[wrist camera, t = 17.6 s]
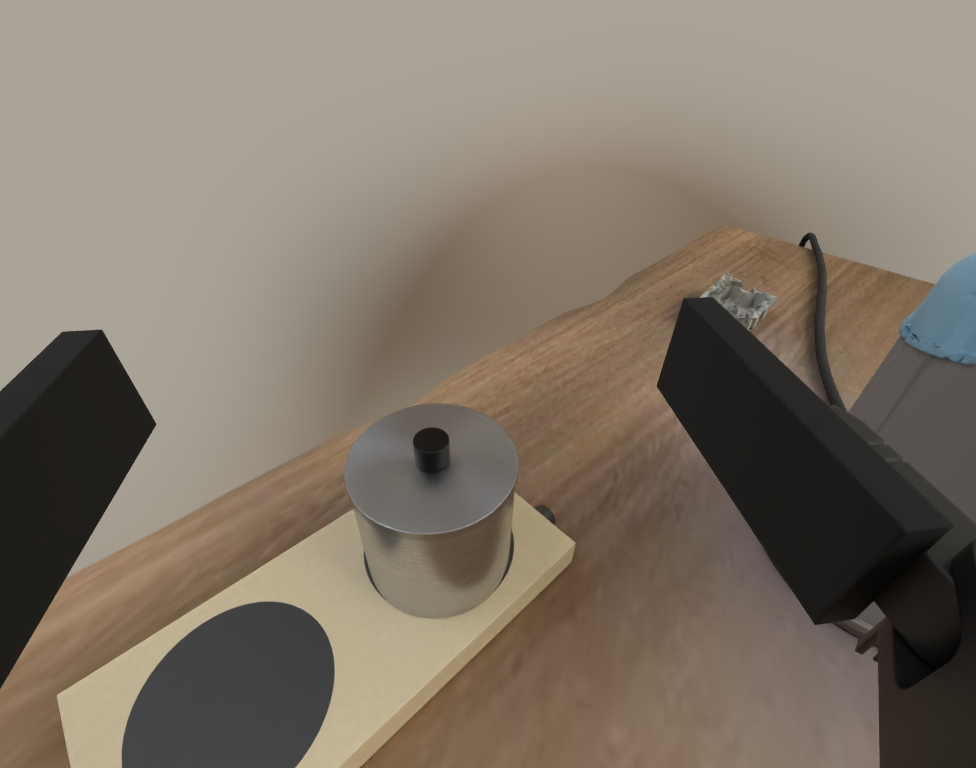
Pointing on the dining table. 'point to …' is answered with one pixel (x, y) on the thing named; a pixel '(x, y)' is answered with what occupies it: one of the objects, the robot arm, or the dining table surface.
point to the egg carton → (740, 300)
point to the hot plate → (294, 662)
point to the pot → (434, 506)
